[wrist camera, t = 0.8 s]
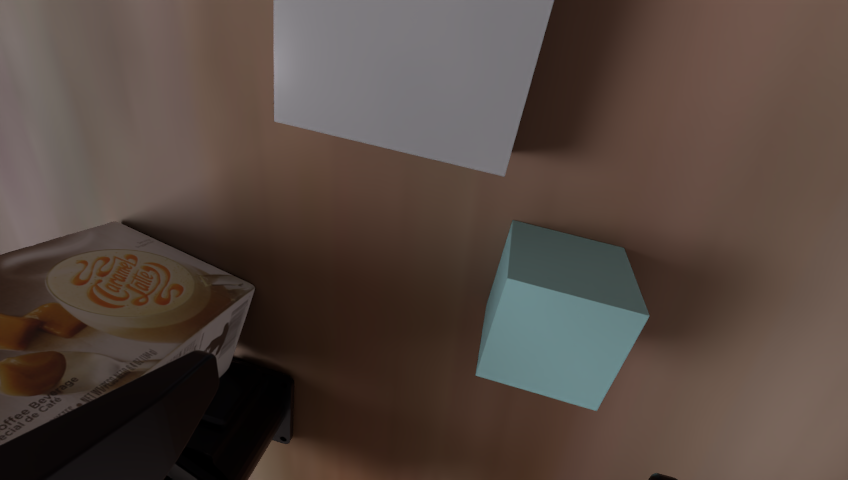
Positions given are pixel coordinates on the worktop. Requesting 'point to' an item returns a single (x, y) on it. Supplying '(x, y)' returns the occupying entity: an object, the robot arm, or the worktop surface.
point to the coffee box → (104, 319)
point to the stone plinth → (410, 73)
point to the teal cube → (560, 315)
